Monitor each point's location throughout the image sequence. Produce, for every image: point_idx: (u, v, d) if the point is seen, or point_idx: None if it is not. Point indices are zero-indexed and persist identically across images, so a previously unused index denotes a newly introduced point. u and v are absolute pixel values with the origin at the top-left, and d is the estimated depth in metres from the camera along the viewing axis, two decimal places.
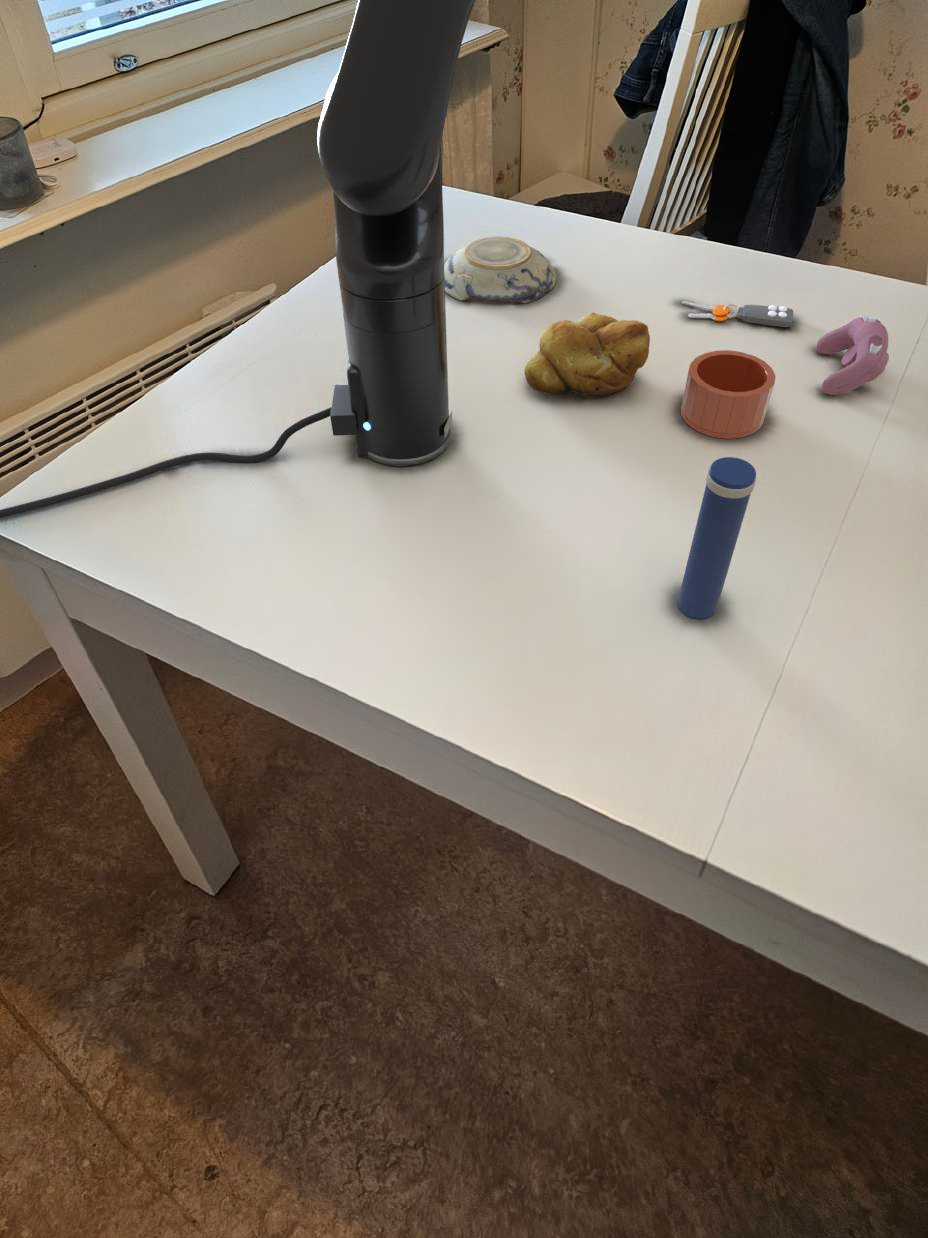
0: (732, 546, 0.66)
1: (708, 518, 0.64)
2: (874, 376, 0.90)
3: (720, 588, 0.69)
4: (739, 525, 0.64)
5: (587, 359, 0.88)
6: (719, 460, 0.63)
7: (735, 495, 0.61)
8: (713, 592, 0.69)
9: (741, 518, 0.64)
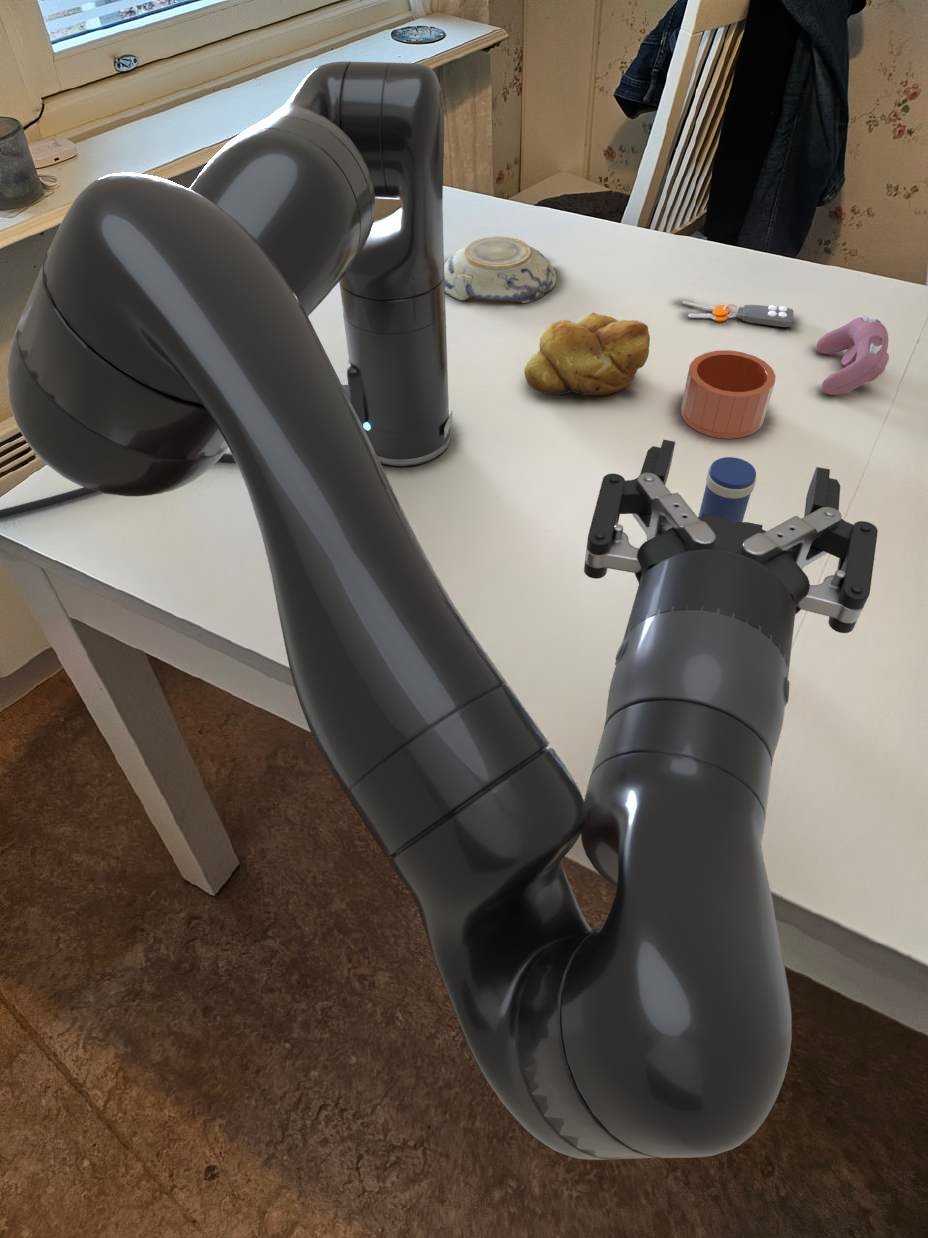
0: None
1: None
2: (874, 376, 0.90)
3: None
4: None
5: (587, 359, 0.88)
6: (719, 460, 0.63)
7: (735, 495, 0.61)
8: None
9: (741, 518, 0.64)
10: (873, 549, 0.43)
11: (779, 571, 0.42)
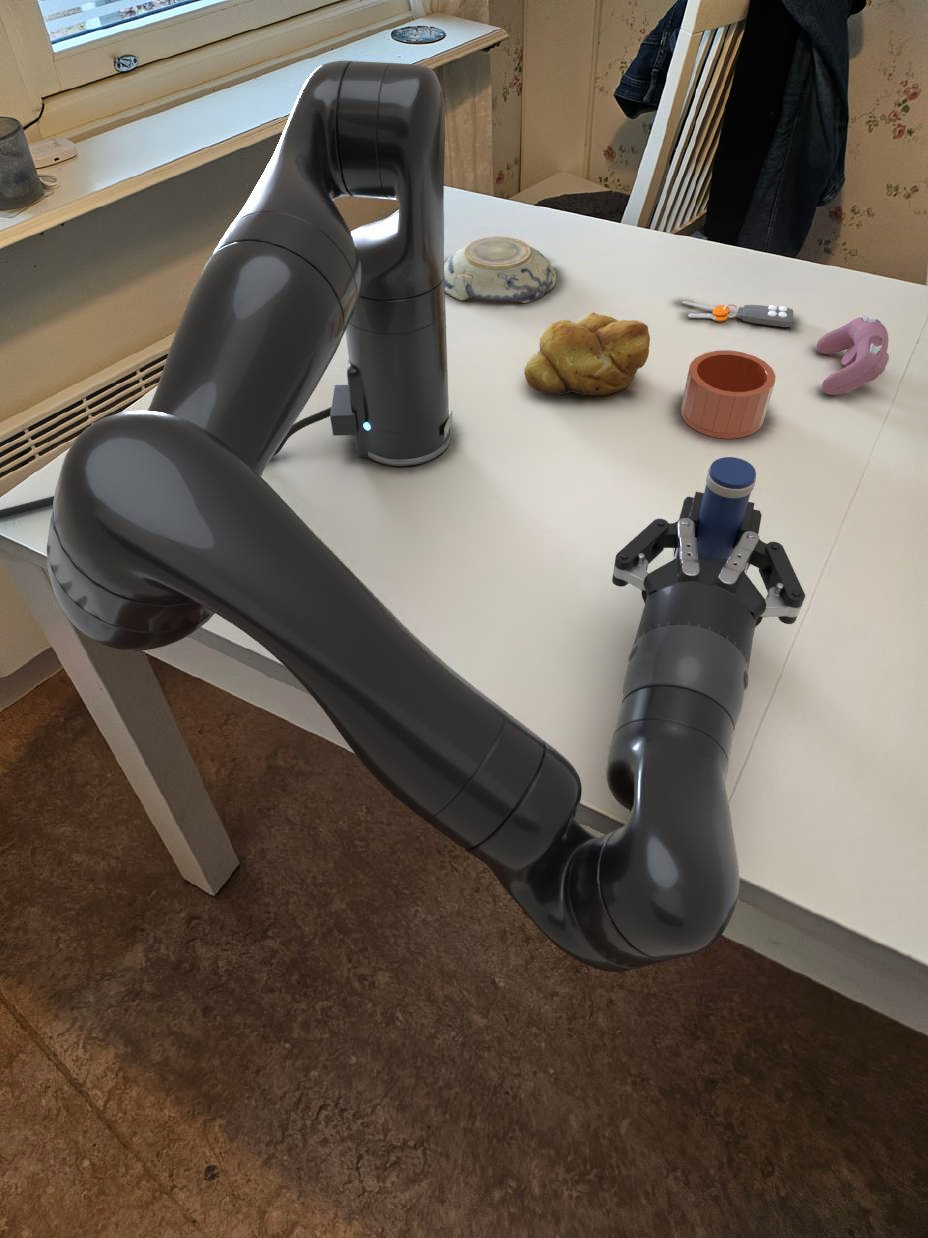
0: (732, 546, 0.66)
1: (708, 518, 0.64)
2: (874, 376, 0.90)
3: None
4: (739, 525, 0.64)
5: (587, 359, 0.88)
6: (719, 459, 0.63)
7: (735, 495, 0.61)
8: None
9: (741, 518, 0.64)
10: (788, 560, 0.62)
11: (744, 595, 0.60)
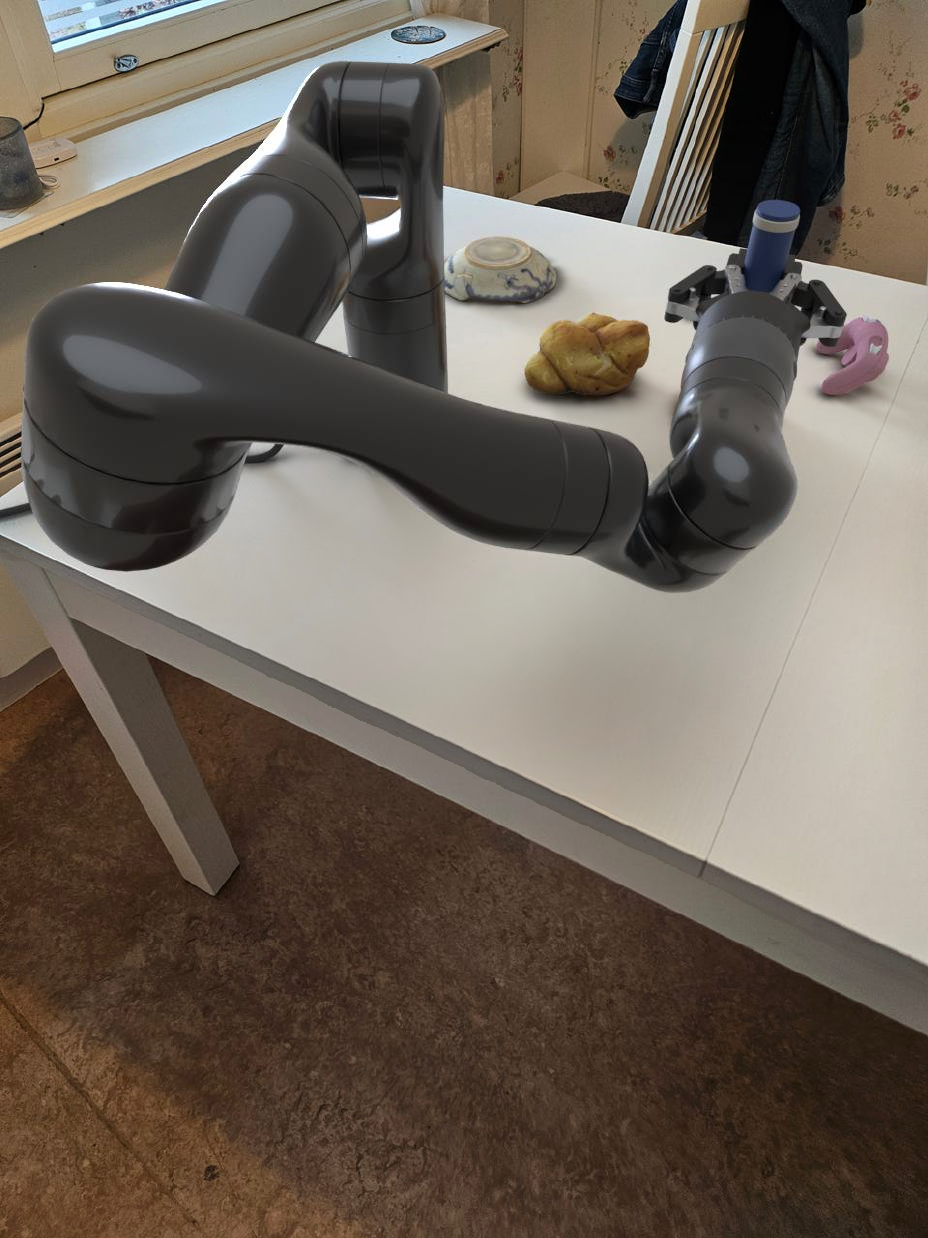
0: None
1: (754, 260, 0.69)
2: (874, 376, 0.90)
3: None
4: (782, 268, 0.69)
5: (587, 359, 0.88)
6: (765, 201, 0.68)
7: (781, 229, 0.66)
8: None
9: (785, 259, 0.69)
10: (829, 291, 0.67)
11: None
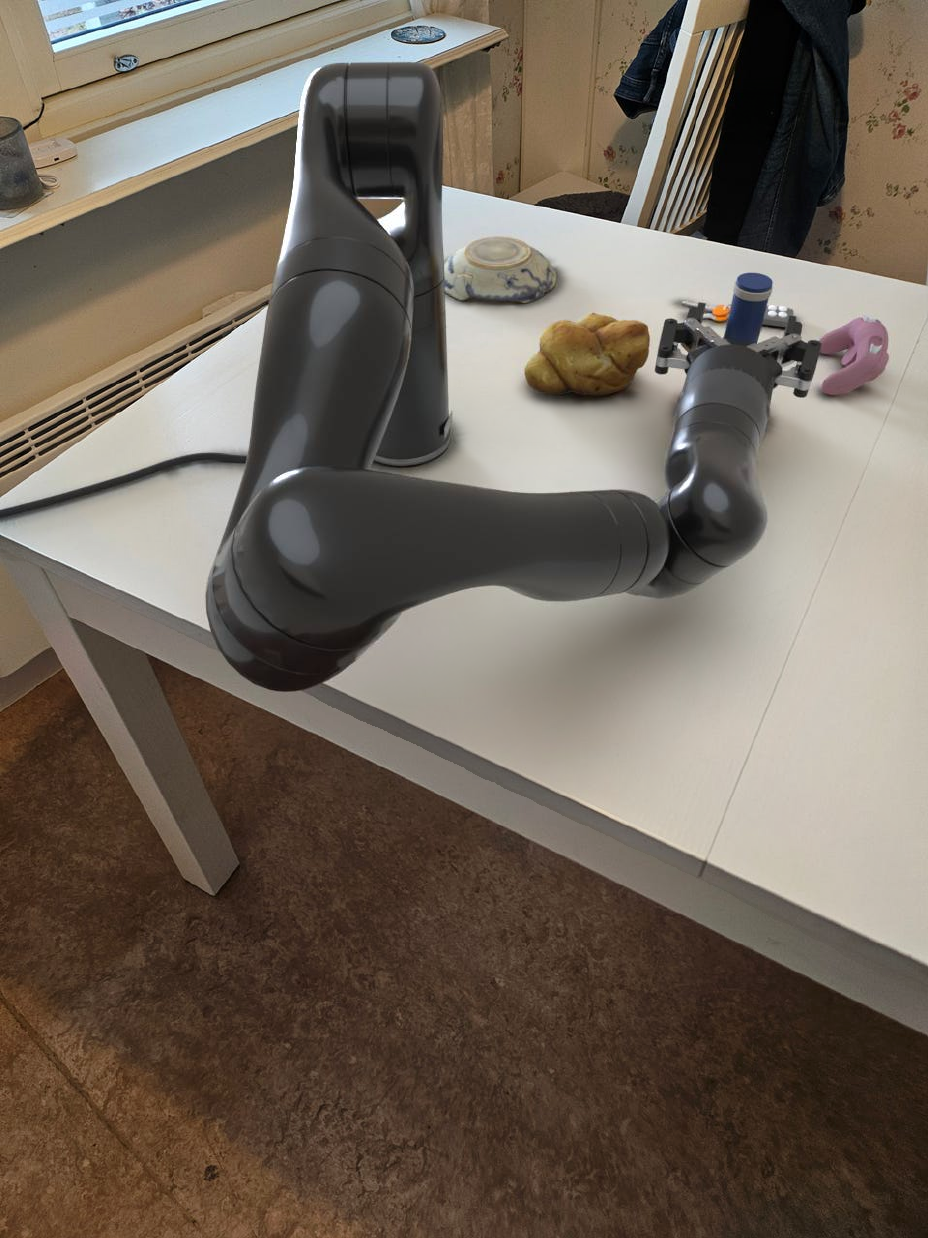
0: None
1: (735, 322, 0.82)
2: (874, 376, 0.90)
3: None
4: (759, 328, 0.82)
5: (587, 359, 0.88)
6: (743, 274, 0.80)
7: (756, 298, 0.79)
8: None
9: (760, 322, 0.81)
10: (818, 352, 0.78)
11: None
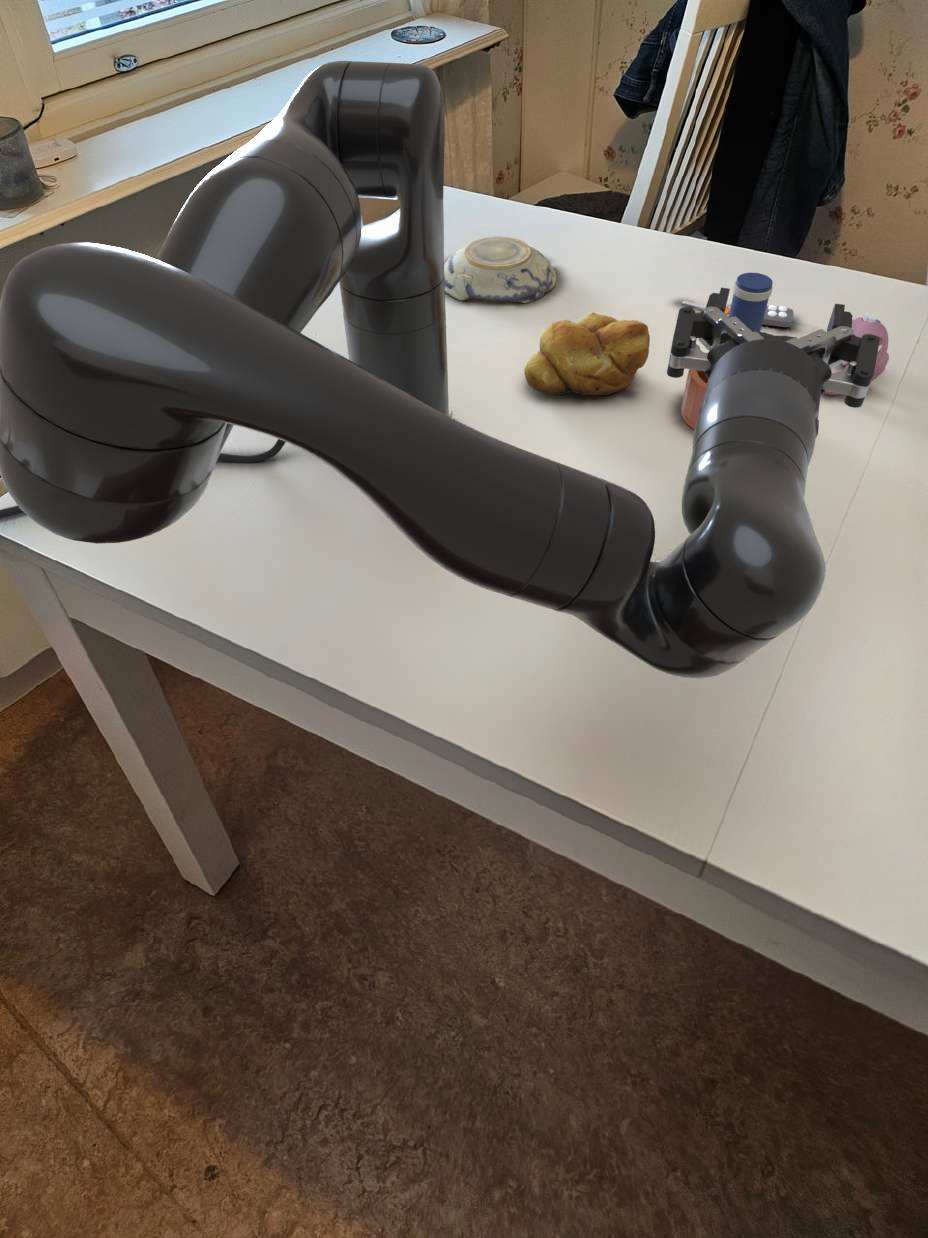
0: None
1: None
2: (874, 376, 0.90)
3: None
4: (759, 328, 0.82)
5: (587, 359, 0.88)
6: (743, 274, 0.80)
7: (756, 298, 0.79)
8: None
9: (760, 322, 0.81)
10: (876, 349, 0.61)
11: None
